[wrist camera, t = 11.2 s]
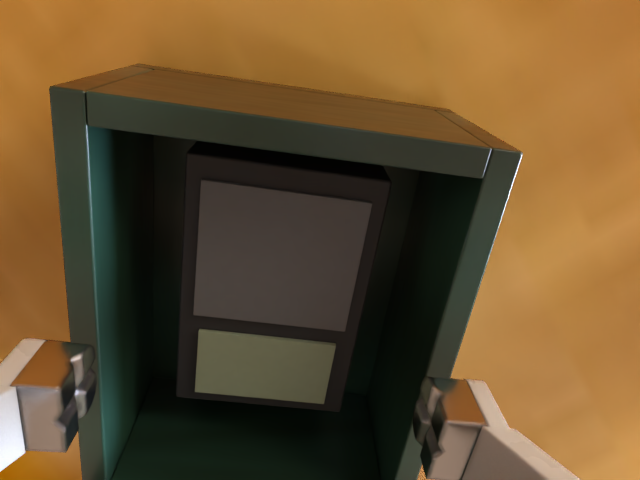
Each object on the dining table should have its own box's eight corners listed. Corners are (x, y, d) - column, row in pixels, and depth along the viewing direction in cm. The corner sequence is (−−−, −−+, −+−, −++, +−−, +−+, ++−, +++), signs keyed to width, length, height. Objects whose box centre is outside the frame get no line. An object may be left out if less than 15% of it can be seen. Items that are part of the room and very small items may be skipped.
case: (136, 63, 16) (47, 85, 11) (450, 109, 17) (524, 152, 12) (140, 376, 22) (83, 503, 16) (377, 397, 23) (403, 523, 17)
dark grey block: (207, 127, 16) (183, 153, 13) (376, 152, 17) (394, 183, 14) (194, 340, 20) (173, 401, 17) (334, 354, 21) (340, 416, 17)
